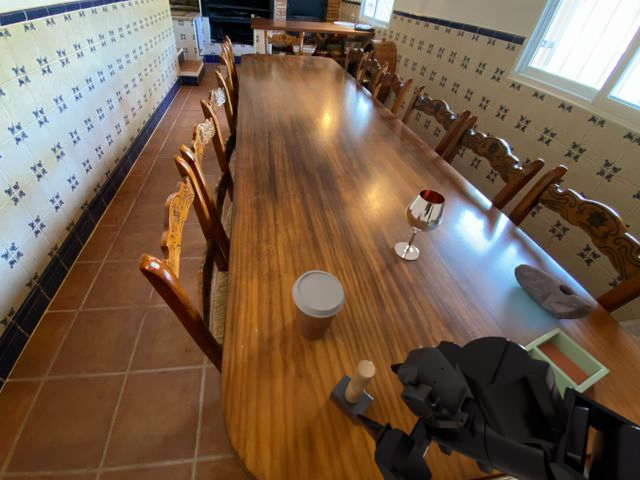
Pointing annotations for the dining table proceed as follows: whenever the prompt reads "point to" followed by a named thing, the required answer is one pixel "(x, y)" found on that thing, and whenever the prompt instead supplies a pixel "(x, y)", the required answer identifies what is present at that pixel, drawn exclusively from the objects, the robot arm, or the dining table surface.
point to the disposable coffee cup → (316, 302)
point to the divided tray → (567, 361)
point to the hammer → (354, 391)
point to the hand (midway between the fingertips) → (375, 391)
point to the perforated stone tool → (551, 293)
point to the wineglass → (421, 219)
